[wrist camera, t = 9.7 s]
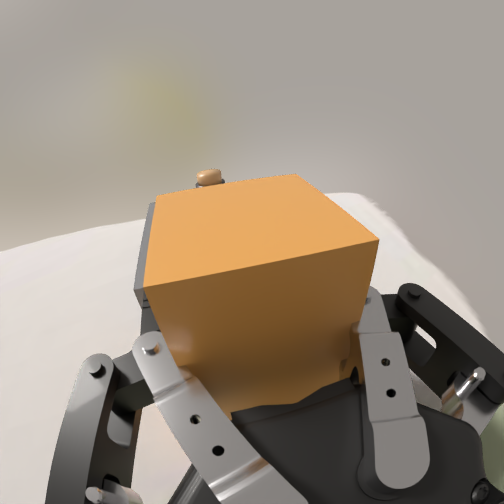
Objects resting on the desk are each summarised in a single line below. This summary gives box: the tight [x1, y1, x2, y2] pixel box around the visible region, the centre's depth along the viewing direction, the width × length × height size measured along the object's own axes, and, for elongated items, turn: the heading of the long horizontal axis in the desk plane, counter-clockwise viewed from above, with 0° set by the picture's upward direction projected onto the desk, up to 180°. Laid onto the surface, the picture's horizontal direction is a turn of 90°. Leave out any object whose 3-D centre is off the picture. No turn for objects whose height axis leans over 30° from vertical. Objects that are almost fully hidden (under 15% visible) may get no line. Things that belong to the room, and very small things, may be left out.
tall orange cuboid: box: [143, 174, 379, 421], centre depth 11 cm, size 5×5×10 cm
